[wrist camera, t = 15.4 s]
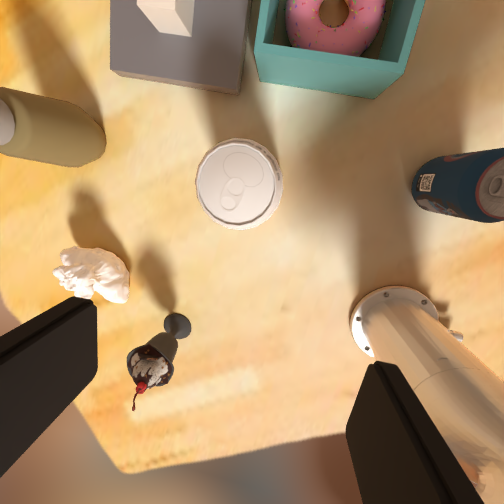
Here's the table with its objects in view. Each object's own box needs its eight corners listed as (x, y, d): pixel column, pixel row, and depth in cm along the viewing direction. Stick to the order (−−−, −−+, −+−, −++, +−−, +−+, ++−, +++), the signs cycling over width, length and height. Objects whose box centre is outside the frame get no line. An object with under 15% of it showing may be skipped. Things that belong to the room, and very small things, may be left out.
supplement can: (239, 142, 35) (211, 117, 21) (292, 170, 35) (301, 163, 21) (216, 196, 37) (176, 207, 23) (266, 221, 38) (257, 247, 23)
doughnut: (311, -55, 29) (316, -92, 25) (398, -11, 29) (417, -41, 25) (269, 51, 32) (267, 33, 28) (347, 90, 32) (357, 77, 28)
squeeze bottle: (125, 148, 37) (-12, 120, 20) (87, 179, 39) (-68, 179, 22) (89, 96, 35) (-92, 17, 18) (51, 131, 37) (-145, 90, 20)
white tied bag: (148, 283, 45) (143, 275, 35) (114, 318, 42) (98, 320, 32) (93, 238, 44) (71, 216, 33) (55, 271, 41) (18, 258, 31)
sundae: (177, 349, 46) (130, 427, 31) (152, 322, 45) (91, 390, 30) (204, 330, 44) (167, 403, 30) (178, 302, 43) (126, 363, 29)
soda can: (471, 159, 33) (575, 148, 21) (453, 213, 34) (540, 230, 23) (415, 154, 33) (486, 141, 22) (401, 207, 35) (459, 221, 24)
